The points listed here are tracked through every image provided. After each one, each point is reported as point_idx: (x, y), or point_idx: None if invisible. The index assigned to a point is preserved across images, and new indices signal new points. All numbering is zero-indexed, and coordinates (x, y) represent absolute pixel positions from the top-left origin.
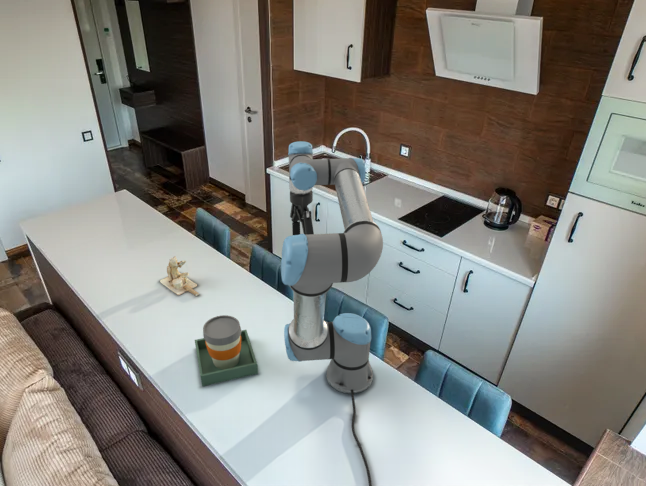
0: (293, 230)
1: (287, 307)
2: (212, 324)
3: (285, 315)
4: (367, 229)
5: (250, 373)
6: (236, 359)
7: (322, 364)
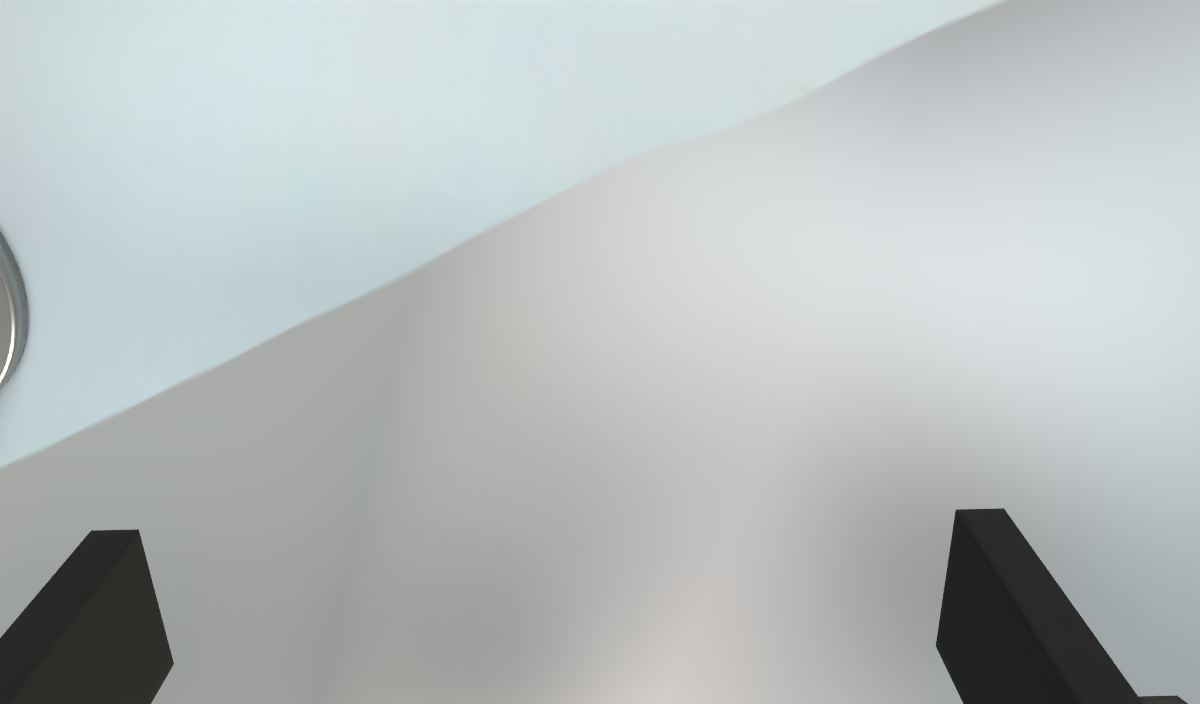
0: (1055, 685)
1: (764, 69)
2: None
3: (658, 20)
4: None
5: None
6: None
7: (4, 144)
